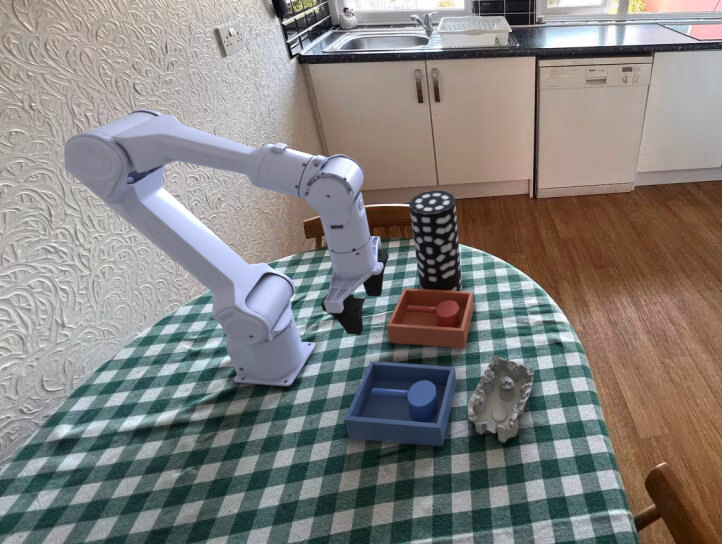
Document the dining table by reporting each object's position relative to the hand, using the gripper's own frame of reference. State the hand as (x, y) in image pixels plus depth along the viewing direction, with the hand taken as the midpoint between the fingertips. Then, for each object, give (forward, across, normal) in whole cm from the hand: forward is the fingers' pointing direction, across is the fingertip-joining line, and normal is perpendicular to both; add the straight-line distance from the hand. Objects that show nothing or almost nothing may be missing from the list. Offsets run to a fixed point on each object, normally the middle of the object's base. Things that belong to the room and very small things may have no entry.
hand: (365, 312), depth 64 cm
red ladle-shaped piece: (+10, +8, -8) cm, 15 cm away
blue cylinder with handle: (+10, -8, -8) cm, 15 cm away
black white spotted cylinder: (0, +18, -7) cm, 19 cm away
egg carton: (+11, -6, -22) cm, 25 cm away
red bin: (+10, +8, -8) cm, 15 cm away
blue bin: (+10, -8, -8) cm, 15 cm away
